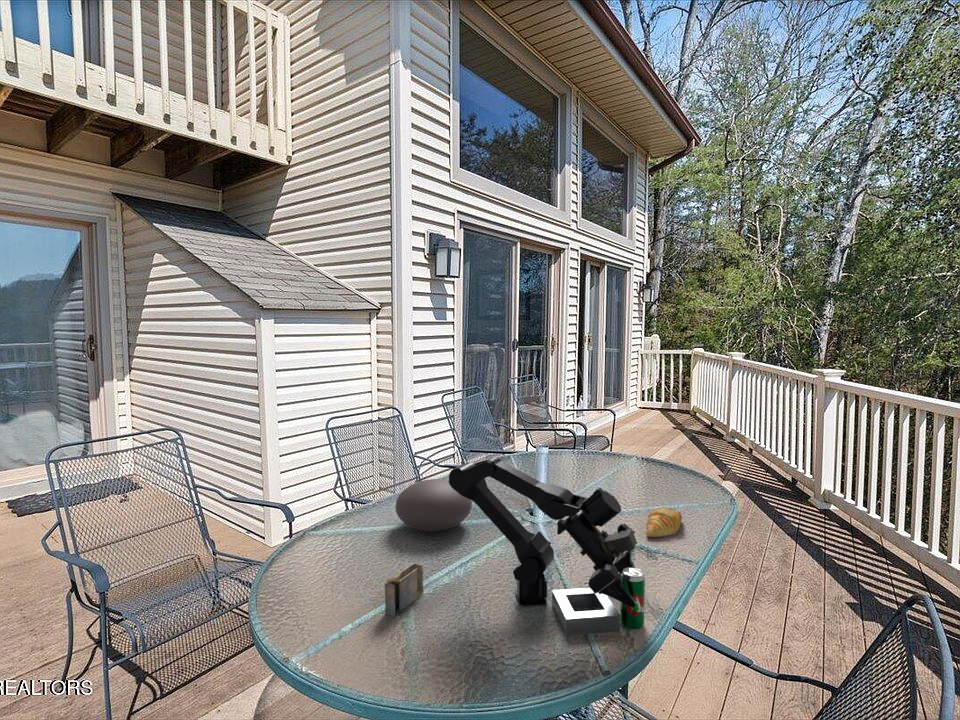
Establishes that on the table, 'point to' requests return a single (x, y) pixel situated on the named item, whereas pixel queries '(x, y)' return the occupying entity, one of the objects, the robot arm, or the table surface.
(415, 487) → the smooth stone
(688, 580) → the table surface
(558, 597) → the sleeve block
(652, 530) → the croissant
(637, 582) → the soda can
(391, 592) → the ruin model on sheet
